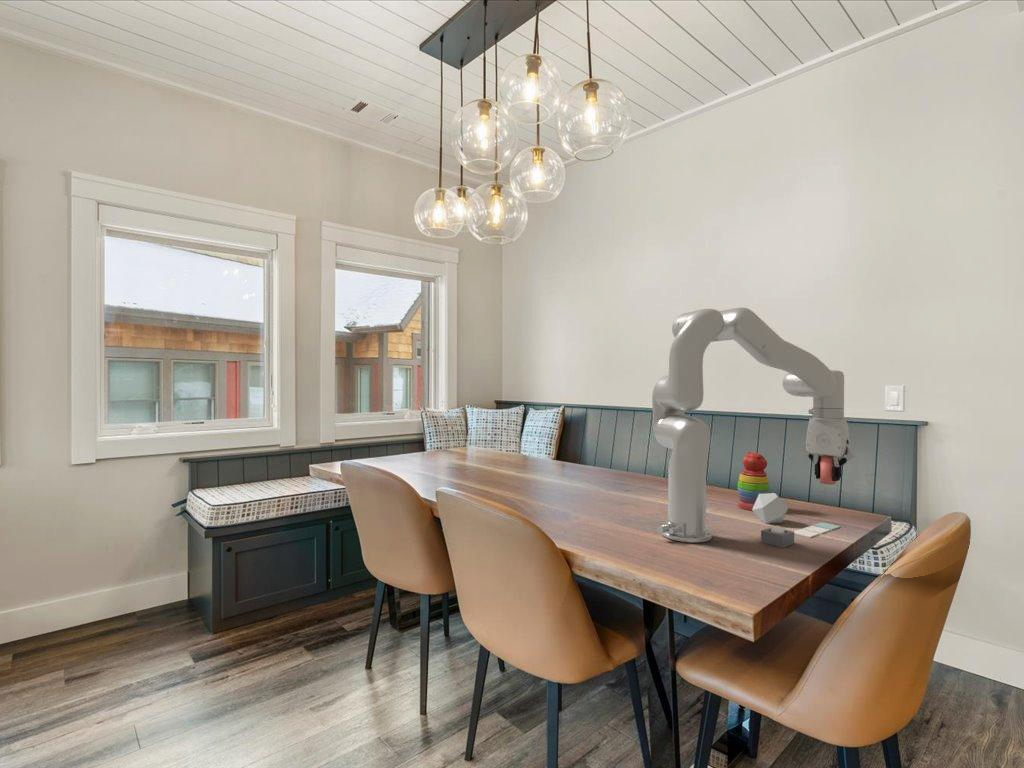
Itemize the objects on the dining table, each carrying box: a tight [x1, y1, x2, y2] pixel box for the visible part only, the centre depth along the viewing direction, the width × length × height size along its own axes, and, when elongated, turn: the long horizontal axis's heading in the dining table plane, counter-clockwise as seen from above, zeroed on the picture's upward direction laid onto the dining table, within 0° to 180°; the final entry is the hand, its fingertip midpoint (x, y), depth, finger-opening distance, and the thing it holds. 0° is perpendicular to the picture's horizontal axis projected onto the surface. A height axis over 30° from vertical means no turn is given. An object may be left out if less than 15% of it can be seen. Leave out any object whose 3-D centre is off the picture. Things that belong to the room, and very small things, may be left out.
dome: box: [771, 525, 785, 534], centre depth 139 cm, size 3×3×4 cm
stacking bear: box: [737, 451, 770, 511], centre depth 175 cm, size 11×10×18 cm
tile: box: [812, 521, 841, 531], centre depth 154 cm, size 5×5×1 cm
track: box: [792, 525, 831, 538], centre depth 149 cm, size 11×5×1 cm, turn 126°
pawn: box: [819, 455, 837, 485], centre depth 154 cm, size 4×4×8 cm
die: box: [751, 492, 790, 525], centre depth 159 cm, size 8×9×10 cm
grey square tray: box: [760, 526, 795, 549], centre depth 139 cm, size 6×6×3 cm
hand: (827, 478), depth 154 cm, fingers closed on pawn, 3 cm apart
